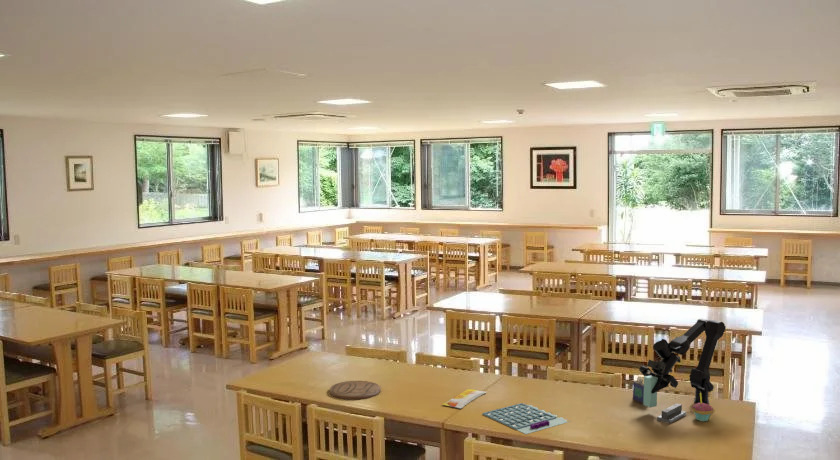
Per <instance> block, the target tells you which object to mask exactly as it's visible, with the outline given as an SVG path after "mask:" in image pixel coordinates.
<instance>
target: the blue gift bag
mask: <svg viewBox="0 0 840 460" xmlns="http://www.w3.org/2000/svg"><path fill="white" fill-rule="evenodd" d="M632 388H633V389H632V400H633V401H634V402H635V403H636V402H637V403H639V404H642V405H643V401H644V379H638V380H633V387H632Z"/></svg>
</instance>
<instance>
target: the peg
mask: <svg viewBox="0 0 840 460" xmlns="http://www.w3.org/2000/svg"><path fill="white" fill-rule="evenodd" d="M657 379H658V378H657V377H654V376H651V375H650V376H643V384H644V401H643V404H642V405H643V406H645V407H648V408H655V407H657V406H658V402H657V401H658V391H657V392H655V393H653V394H652V393H651V391H652V389H653V387H654V386H655V384H656V383H657Z"/></svg>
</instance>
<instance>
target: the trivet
mask: <svg viewBox="0 0 840 460" xmlns="http://www.w3.org/2000/svg"><path fill="white" fill-rule="evenodd" d="M381 389H382V387H381V386H380V385H379V384H378V383H376V382H373V381H368V380H348V381H346V380H345V381H341V382H338V383H335V384H333V385H331V386H330V387H329V395H330V396H332V397H334V398H336V399H339V400H340V399H342V400H348V401H352V400H353V401H358V400H359V401H360V400H367V399H370V398H374V397H376V396H378V395H380V393H381Z"/></svg>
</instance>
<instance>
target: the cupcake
mask: <svg viewBox="0 0 840 460" xmlns="http://www.w3.org/2000/svg"><path fill="white" fill-rule="evenodd" d="M692 411H693V413H694V415H695V419H696V421H697V420H698V421H700V422H708V421H709V418H710V417H711V415H712V414H714V411H715V410H714V407H712V405H710V403H709V404H705V403H702V396H701V392H700V403H694V404H693V405H692Z"/></svg>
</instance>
